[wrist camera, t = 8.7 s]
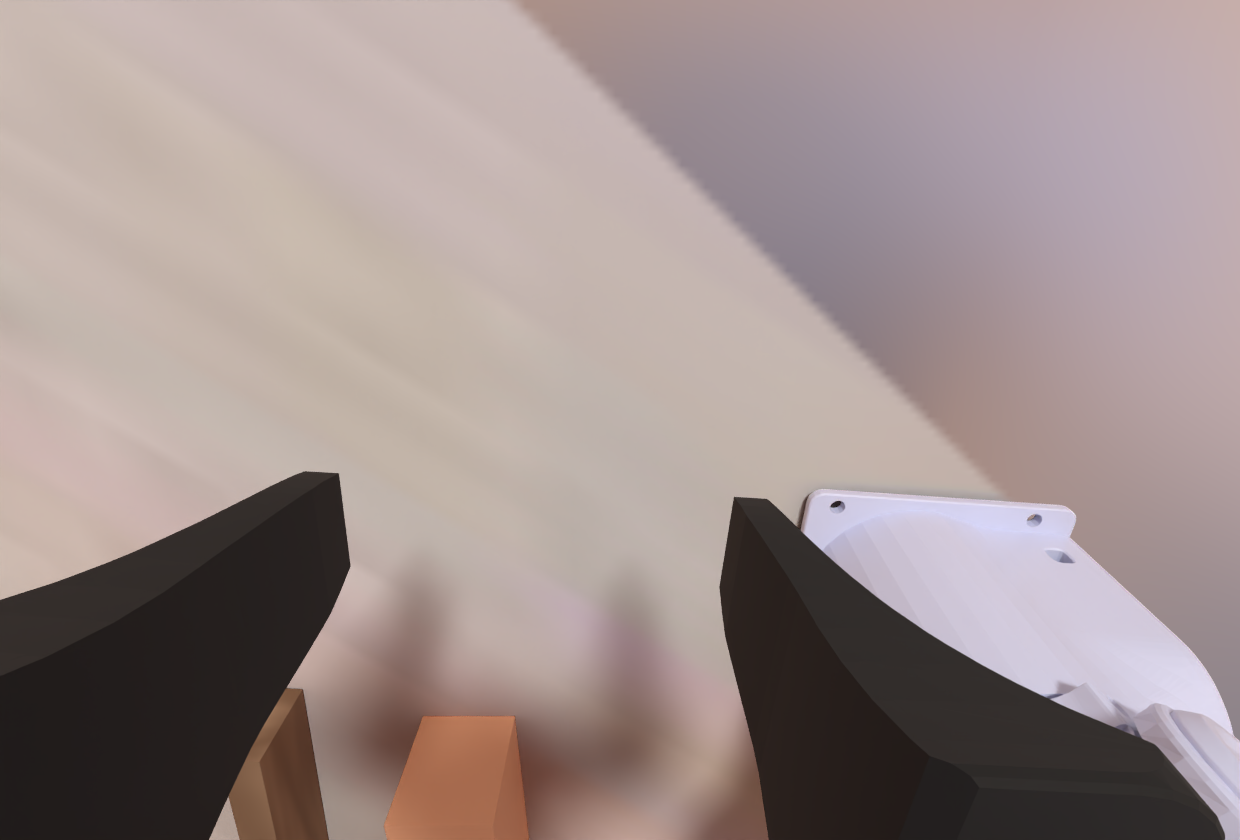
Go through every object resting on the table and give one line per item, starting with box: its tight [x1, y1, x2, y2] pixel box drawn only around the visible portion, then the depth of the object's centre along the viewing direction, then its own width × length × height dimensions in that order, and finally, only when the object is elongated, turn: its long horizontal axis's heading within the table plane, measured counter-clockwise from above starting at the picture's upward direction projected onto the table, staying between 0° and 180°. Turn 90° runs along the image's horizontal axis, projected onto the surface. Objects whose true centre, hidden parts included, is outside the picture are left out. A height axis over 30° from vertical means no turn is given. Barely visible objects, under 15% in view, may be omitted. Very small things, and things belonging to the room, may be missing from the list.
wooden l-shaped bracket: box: [229, 688, 328, 840], centre depth 29 cm, size 14×13×4 cm
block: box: [384, 716, 529, 840], centre depth 28 cm, size 8×4×5 cm, turn 1°
